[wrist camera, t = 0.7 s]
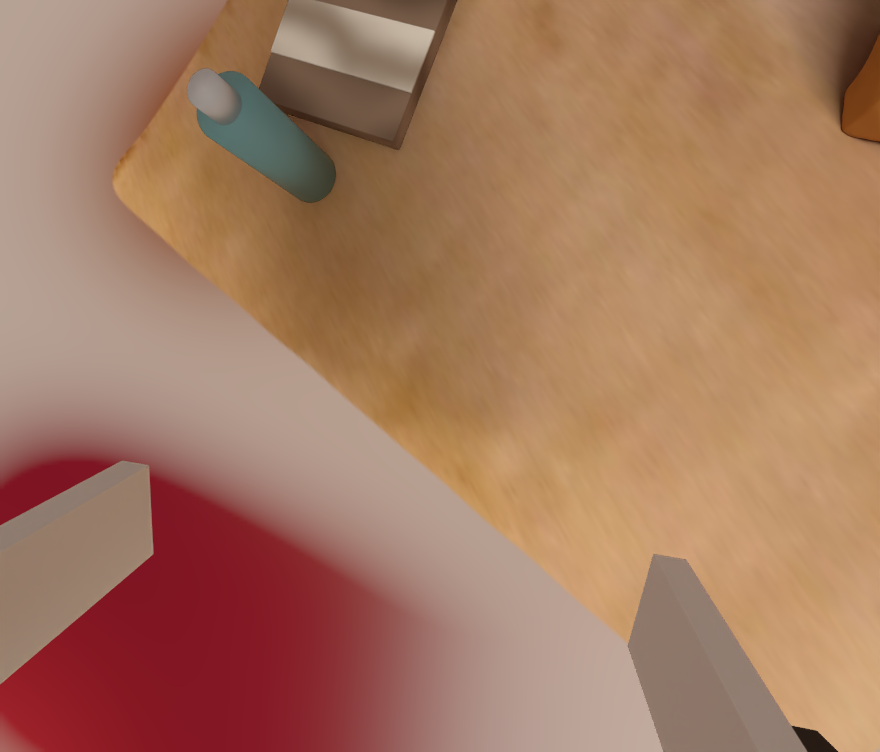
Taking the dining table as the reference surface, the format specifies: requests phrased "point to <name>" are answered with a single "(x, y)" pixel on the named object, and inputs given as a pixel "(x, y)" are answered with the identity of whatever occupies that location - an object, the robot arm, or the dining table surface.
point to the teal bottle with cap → (260, 133)
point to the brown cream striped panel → (355, 63)
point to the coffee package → (864, 100)
